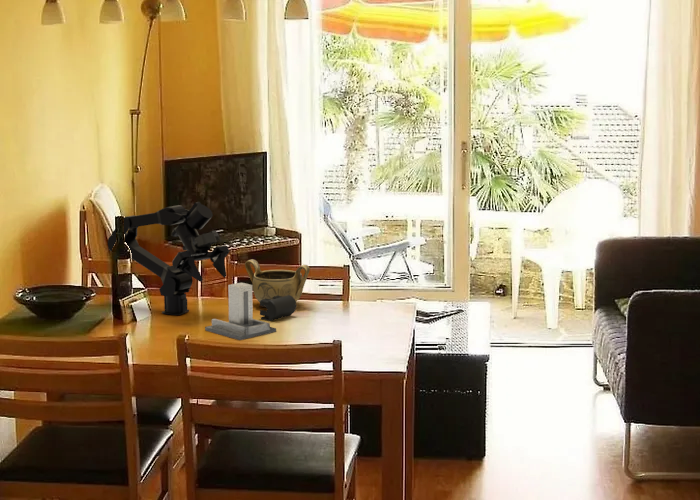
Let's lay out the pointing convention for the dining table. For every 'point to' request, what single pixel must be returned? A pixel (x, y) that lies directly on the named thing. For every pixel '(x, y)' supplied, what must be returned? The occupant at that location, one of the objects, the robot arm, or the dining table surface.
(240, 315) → the aluminium block
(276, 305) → the end cap
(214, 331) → the slotted cradle
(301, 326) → the dining table surface
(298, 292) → the ceramic bowl
